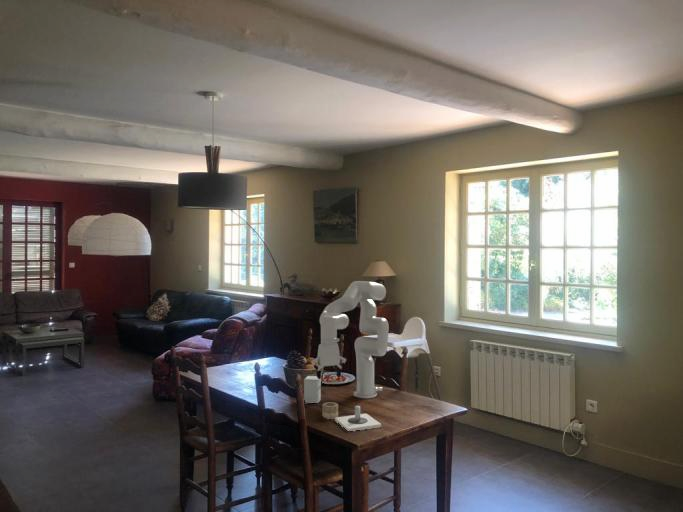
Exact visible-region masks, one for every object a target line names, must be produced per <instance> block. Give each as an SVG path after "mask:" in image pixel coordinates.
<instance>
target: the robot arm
mask: <svg viewBox="0 0 683 512" xmlns="http://www.w3.org/2000/svg"><path fill="white" fill-rule="evenodd" d="M386 293H387V289H386V287H385V285H383V284H382V283H378V282H375V281H364V280H355V281H352V282H351V283H350V284H349V285H348V287H347V289H346V290H345V292H344V294H343V295H341V296H342V297H340V298H338V299H336V300H334V301H332V302H330V303H329V304H327V306H325V308H324V309H323V311H322V313H321V314H320V316H319V324H320V344H318V349H317V357H316V358H314V359H313V360H312V359H311V361H310V363H311V365H312V366H313V368H314V369H315V370H316V374H317V378H318V379H321V373H322V371H321V369H322V368H323V367H333V366H335V367H336V372H337V376H338V377H340V375H341V373H342V369H343V367H344V365H345V363H346V362H347V358H346V357H343V356H342V355H340V348H339V343H338V342H340V340H341V339H340V338H338V337H337V336H338V333H337V332H338V330H344V329H346V328H347V327H348V326H349V323H350V319H349V317H348V315H347V314H345V312H346V313H347V312H348V311H349V312H350V311H353V310H354V309H355V308H356V307H357V306H358V304H360V315H359V316H360V317H359V327H358V328H359V332H360V333H361V334H364V335H371V336H359V337H357V338H356V339H355V341H354V350H355V358H356V359H355V360H356V391H354V392H353V397H355V398H359V399H373V398H375V397H377V396H378V392H382V391H383V387H382V386H380V387H379V386H375V362H374V359H373V356H374V357H383V356H385V355H386V354H387V350H388V343H389V341H388V340H389V329H390V328H389V327H390V326H389V322H388V320H387V318H385V317H381V316H380V317H379V316H378V317H377V305H376V303H375V301H383V300H384V299H385V297H386V295H387V294H386ZM372 336H377V337H372ZM316 363H317V365H316Z"/></svg>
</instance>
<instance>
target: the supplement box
mask: <svg viewBox="0 0 683 512" xmlns="http://www.w3.org/2000/svg"><path fill="white" fill-rule="evenodd" d="M321 386H322V383H321V379H318V378H317V376H314V375H307V376H306V377H305V378H304V379H303V401H304V400H305V402H306V403H305V404H307V403H318V404H319V402H320V401H321V399H322V393H321V389H322V387H321Z"/></svg>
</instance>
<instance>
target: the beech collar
mask: <svg viewBox="0 0 683 512" xmlns="http://www.w3.org/2000/svg"><path fill="white" fill-rule="evenodd" d="M321 406H322V409H321V410H322V413H321V414H322V416H323V417H324V418H327V419H326V420H329V419H331V420H335V418H336V417H339V403H337V402H332V401H328V402H324V403H322V405H321ZM322 416H321V417H322ZM323 417H322V418H323ZM324 418H323V419H324Z"/></svg>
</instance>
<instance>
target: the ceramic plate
mask: <svg viewBox="0 0 683 512" xmlns="http://www.w3.org/2000/svg"><path fill="white" fill-rule="evenodd" d="M323 373H324V374H323V382H322V383H321V384H323V383H324V385H330V384H331V385H335V386H337V385H343V384H347V383H350V382H353V381H354V380H355V379H356V377H355V376H354V375H353V374H350V373H346V372H341V375H340V377H338V376H337V371H330V372H329V371H328V372H323Z"/></svg>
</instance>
